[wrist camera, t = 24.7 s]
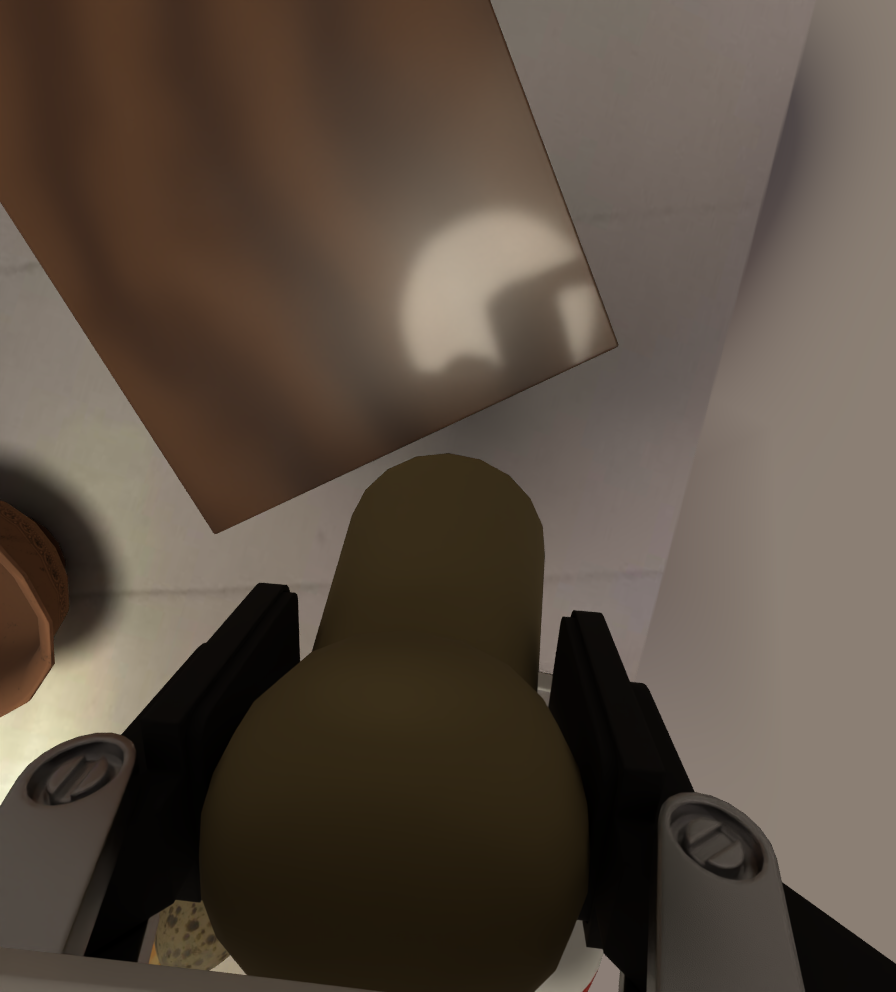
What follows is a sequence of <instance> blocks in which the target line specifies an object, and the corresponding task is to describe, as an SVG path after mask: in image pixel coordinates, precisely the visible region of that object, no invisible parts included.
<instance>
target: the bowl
mask: <svg viewBox="0 0 896 992" xmlns="http://www.w3.org/2000/svg"><path fill="white" fill-rule="evenodd" d="M68 610H69V591H68V576H67V574H66V571H65V558H64V556H63V553H62V551H61V548H60V546H59V543H58V542H57V541H56V540H55V538H54V537H53V536H52V535H51V533H50V532H49V531H48V530H47V529H46V528H45V527H43V526H42V525H40V524H39V523H37V522H36V521H34V520H33V519H31V518H30V517H27V516H25V515H24V514H22V513H21V512H20V511H18V510H17V509H15V508H14V507H13V506H11V505H10V504H8V503H6V502H4V501H0V717H2V716H4V715H6V714H7V713H9V712H11V711H13V710H14V709H16V708H18V707H20V706H22V705H23V704H25V703H27V702H28V701H30V700H31V699H32V697H33V696H34V694H35V693H36V691H37V690H38V688H39V687H40V685H41V684H42V682H43V681H44V679H45V677H46V676H47V674H48V673H49V671H50V670H51V668H52V667H53V665H54V664H55V658H54V639H53V637H54V636H55V634H56V632H57V631H58V629H59V627H60V625H61V624H62V622H63V620H64V618H65V617H66V615H67V613H68Z"/></svg>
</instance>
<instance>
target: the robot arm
mask: <svg viewBox="0 0 896 992" xmlns="http://www.w3.org/2000/svg"><path fill="white" fill-rule="evenodd" d="M299 662H300V648H299V616H298V596H297V594H296V593H292V592H290V590H289V587H288V586H287V585H281V584H269V583H258V584H257V585H256V586H255V587H254V588H253V590H252V591H251V592H250V593H249V594H248V595H247V596H246V598H245V599H244V600H243V601H242V602H241V603H240V605H239V606H238V607H237V608H236V609H235V610H234V611H233V613H232V614H231V615H230V616H229V617H228V618H227V620H226V621H225V622H224V623H223V624H222V625H221V627H220V628H219V629H218V630H217V631H216V632H215V633H214V635H213V636H212V637H211V638H210V639H209V640H208V642H207V643H203V644H202V645H201V646H199V647H198V648H197V649H196V650H195V651H194V653H193V654H192V655H191V656H190V657H189V658H188V659H187V661H186V662H185V663H184V664H183V665H182V666H181V667H180V668H179V670H178V671H177V672H176V673H175V674H174V675H173V676H172V678H171V679H170V680H169V681H168V682H167V683H166V684H165V686H164V687H163V688H162V689H161V690H160V691H159V692H158V694H157V695H156V696H155V697H154V698H153V699H152V700H151V701H150V703H149V704H148V705H147V706H146V707H145V708H144V709H143V711H142V712H141V713H140V714H139V715H138V716H137V717H136V719H135V720H134V721H133V722H132V723H131V724H130V725H129V726H128V728H127V729H126V730H125V731H124V732H123V733H122V734H121V735H119V734H115V733H93V734H89V735H84V736H79V737H76V738H74V739H71V740H68V741H66V742H63V743H60V744H59V745H57V746H55V747H53V748H52V749H50V750H48V751H46V752H44V753H43V754H42V755H40V756H39V757H38V758H37V759H35V760H34V761H33V762H32V763H30V764H29V765H28V766H27V767H26V769H25V770H24V771H23V772H22V773H21V775H20V776H19V777H18V778H17V780H16V781H15V783H14V785H13V786H12V788H11V789H10V791H9V793H8V794H7V796H6V797H5V799H4V801H3V802H2V804H1V805H0V992H381V991H373V990H365V989H356V988H348V987H340V986H332V985H324V984H315V983H307V982H299V981H290V980H282V979H274V978H265V977H257V976H248V975H240V974H232V973H223V972H215V971H206V970H198V969H189V968H180V967H171V966H163V965H154V964H149V960H150V956H151V952H152V948H153V944H154V940H155V936H156V931H157V927H158V923H159V919H160V911H162V910H164V909H165V908H167V907H168V906H170V905H172V904H173V903H174V902H175V900H181V901H189V902H198V903H200V902H201V900H202V898H201V886H200V870H199V843H200V824H201V812H202V809H203V805H204V802H205V798H206V795H207V791H208V788H209V784H210V781H211V777H212V774H213V772H214V770H215V768H216V766H217V765H218V763H219V761H220V759H221V757H222V755H223V753H224V751H225V749H226V747H227V745H228V744H229V742H230V740H231V738H232V736H233V734H234V732H235V731H236V729H237V727H238V726H239V724H240V723H241V721H242V720H243V718H244V716H245V715H246V713H247V712H248V710H249V708H250V707H251V705H252V704H253V702H254V701H255V700H256V699H257V698H259V697H260V696H261V695H262V694H263V693H264V692H265V691H267V690H268V689H269V688H270V687H271V686H272V685H273V684H275V683H276V682H277V681H278V680H279V679H280V678H282V677H283V676H284V675H285V674H286V673H288V672H289V671H290V670H291V669H292V668H293V667H295V666H296V665H297V664H298V663H299ZM548 708H549V710H550V712H551V713H552V715H553V717H554V719H555V720H556V722H557V724H558V726H559V728H560V730H561V732H562V734H563V736H564V738H565V740H566V742H567V744H568V746H569V749H570V751H571V753H572V755H573V757H574V759H575V761H576V763H577V765H578V767H579V770H580V774H581V779H582V783H583V787H584V791H585V796H586V800H587V804H588V821H589V838H590V865H589V882H588V894H587V896H586V899H585V901H584V904H583V906H582V909H581V911H580V914H579V916H578V919H577V920H582V923H583V929H584V936H585V942H586V947H588V948H597V949H603V953H604V954H605V955H606V956H607V957H608V958H609V959H610V960H611V961H612V962H613V963H614V964H615V965H616V966H617V967H618V968H619V969H620V979H619V992H896V964H895V963H894V962H893V961H891V960H890V959H888V958H887V957H885V956H884V955H883V954H881V953H880V952H879V951H877V950H876V949H875V948H873V947H872V946H870V945H869V944H867V943H866V942H865V941H863V940H862V939H861V938H859V937H858V936H856V935H855V934H854V933H852V932H851V931H849V930H848V929H847V928H845V927H844V926H842V925H841V924H840V923H838V922H837V921H835V920H834V919H833V918H831V917H830V916H829V915H827V914H826V913H824V912H823V911H822V910H820V909H819V908H817V907H816V906H815V905H813V904H812V903H810V902H809V901H808V900H806V899H805V898H803V897H802V896H801V895H799V894H798V893H796V892H795V891H794V890H792V889H791V888H789V887H788V886H787V885H785V884H784V883H782V881H781V876H780V871H779V866H778V862H777V858H776V855H775V853H774V850H773V848H772V845H771V843H770V842H769V840H768V839H767V837H766V836H765V834H764V833H763V832H762V830H761V829H760V828H759V827H758V826H757V825H756V824H755V823H754V822H753V821H752V820H751V819H750V818H749V817H748V816H746V814H744V813H743V812H741V811H740V810H738V809H737V808H735V807H734V806H732V805H731V804H729V803H727V802H725V801H723V800H720V799H718V798H716V797H713V796H711V795H706V794H701V793H697V792H694V790H693V787H692V785H691V783H690V781H689V778H688V776H687V774H686V771H685V769H684V767H683V765H682V762H681V760H680V758H679V756H678V753H677V751H676V749H675V747H674V744H673V742H672V740H671V738H670V736H669V733H668V731H667V729H666V727H665V725H664V722H663V720H662V718H661V715H660V713H659V711H658V709H657V706H656V704H655V702H654V700H653V697H652V695H651V693H650V691H649V689H648V688H647V686H646V685H645V684H643V683H636V682H630V681H629V678H628V676H627V673H626V671H625V668H624V666H623V663H622V661H621V658H620V656H619V653H618V651H617V648H616V646H615V643H614V641H613V638H612V636H611V633H610V631H609V629H608V626H607V624H606V621H605V619H604V616H603V614H602V613H598V612H587V611H575V610H573V612H572V614H571V617H562V619H561V624H560V630H559V637H558V644H557V650H556V657H555V664H554V671H553V677H552V684H551V691H550V698H549V704H548Z"/></svg>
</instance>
